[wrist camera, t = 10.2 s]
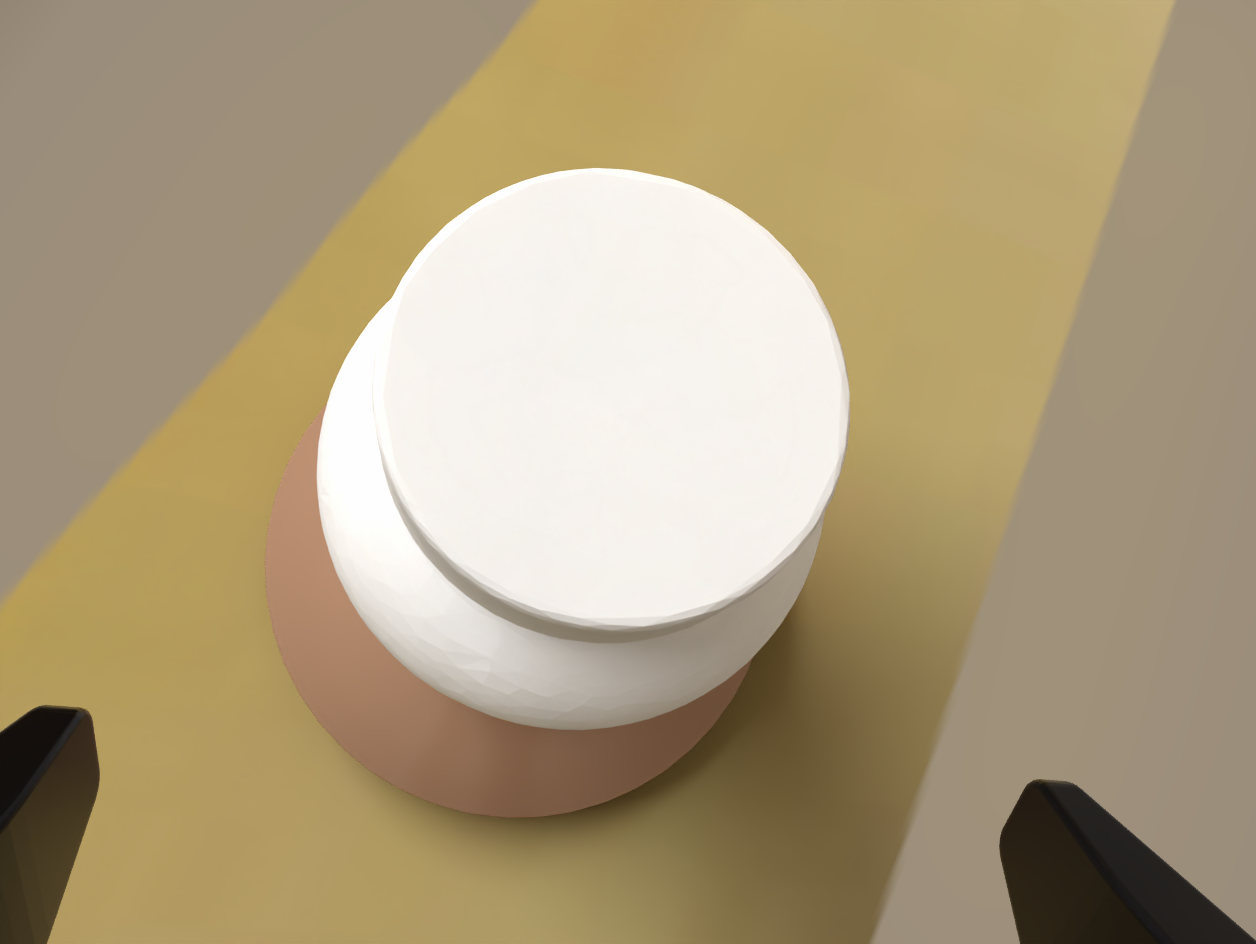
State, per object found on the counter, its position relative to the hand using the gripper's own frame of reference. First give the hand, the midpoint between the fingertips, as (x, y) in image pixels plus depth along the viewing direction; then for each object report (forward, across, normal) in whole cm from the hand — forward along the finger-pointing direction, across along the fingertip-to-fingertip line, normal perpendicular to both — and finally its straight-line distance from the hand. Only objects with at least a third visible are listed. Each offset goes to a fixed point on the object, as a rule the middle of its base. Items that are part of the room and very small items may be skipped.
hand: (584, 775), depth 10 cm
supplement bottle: (+11, 0, +6) cm, 13 cm away
